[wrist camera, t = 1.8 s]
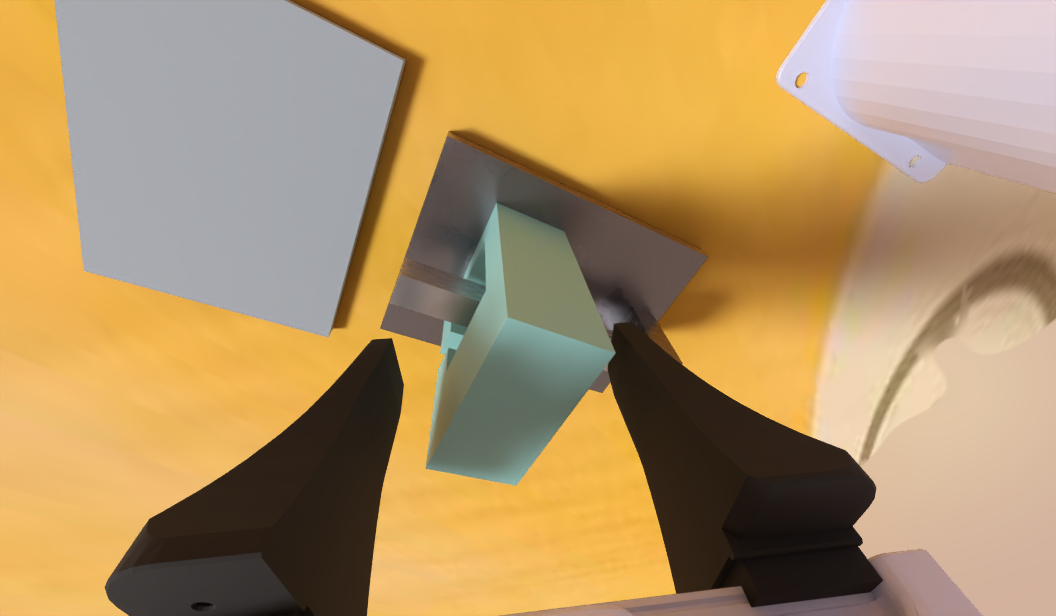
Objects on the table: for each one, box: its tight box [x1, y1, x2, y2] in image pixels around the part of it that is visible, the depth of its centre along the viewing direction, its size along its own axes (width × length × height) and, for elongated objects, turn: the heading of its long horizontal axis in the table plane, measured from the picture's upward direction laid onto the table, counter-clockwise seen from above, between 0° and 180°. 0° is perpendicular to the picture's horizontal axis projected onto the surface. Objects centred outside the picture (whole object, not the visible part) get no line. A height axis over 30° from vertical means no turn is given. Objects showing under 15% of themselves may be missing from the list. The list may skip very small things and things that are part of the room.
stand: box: [380, 131, 708, 393], centre depth 17 cm, size 12×9×4 cm
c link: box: [426, 203, 615, 485], centre depth 14 cm, size 3×6×8 cm, turn 154°
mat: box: [55, 0, 406, 337], centre depth 14 cm, size 9×12×1 cm
